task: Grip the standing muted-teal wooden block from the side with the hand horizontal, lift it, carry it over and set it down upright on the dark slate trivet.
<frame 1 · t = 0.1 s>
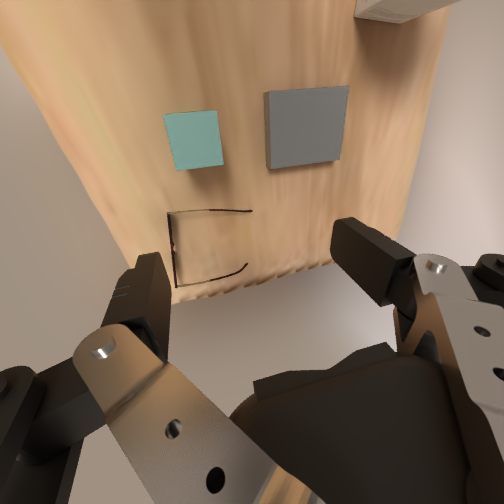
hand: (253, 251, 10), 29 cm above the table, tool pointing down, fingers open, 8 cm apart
slate trivet: (301, 128, 36), on the table
sunglasses: (212, 239, 43), on the table
teal block: (191, 132, 33), on the table
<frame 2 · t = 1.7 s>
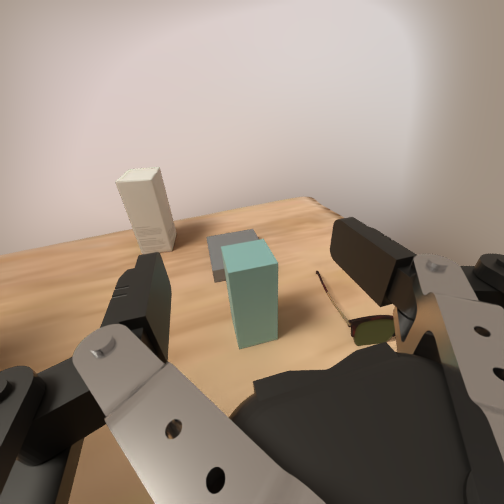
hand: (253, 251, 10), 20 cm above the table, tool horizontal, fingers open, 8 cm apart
slate trivet: (236, 257, 45), on the table
sunglasses: (368, 300, 34), on the table
skincare box: (162, 244, 51), on the table
teal block: (253, 328, 31), on the table
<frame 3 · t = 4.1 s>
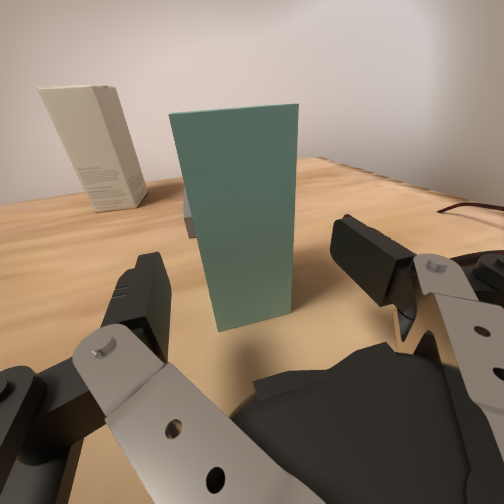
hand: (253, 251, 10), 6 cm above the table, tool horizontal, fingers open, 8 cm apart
slate trivet: (224, 211, 31), on the table
sunglasses: (434, 254, 21), on the table
skincare box: (125, 203, 38), on the table
teal block: (246, 296, 17), on the table
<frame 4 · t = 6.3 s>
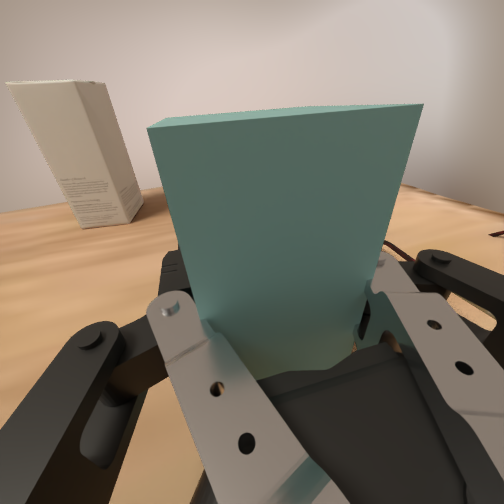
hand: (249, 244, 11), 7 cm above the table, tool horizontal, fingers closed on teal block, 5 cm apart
sunglasses: (502, 296, 16), on the table
skincare box: (118, 216, 33), on the table
teal block: (269, 369, 12), on the table, touching gripper
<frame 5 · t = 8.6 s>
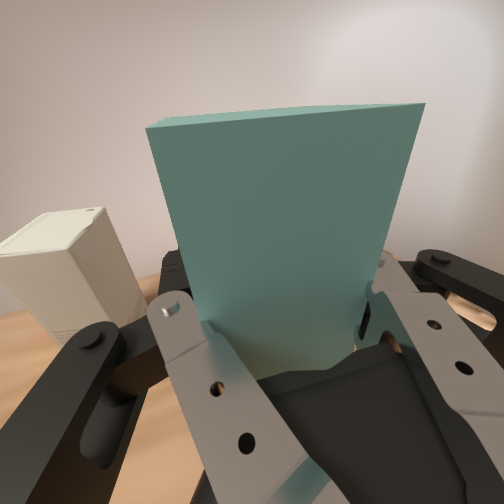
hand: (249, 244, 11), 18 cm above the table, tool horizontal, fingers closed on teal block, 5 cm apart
skincare box: (120, 336, 29), on the table
teal block: (270, 370, 12), point 11 cm above the table, touching gripper
when the fingers open (10 cm above the table, at t = 11.2 s): teal block drops 1 cm, resting on slate trivet.
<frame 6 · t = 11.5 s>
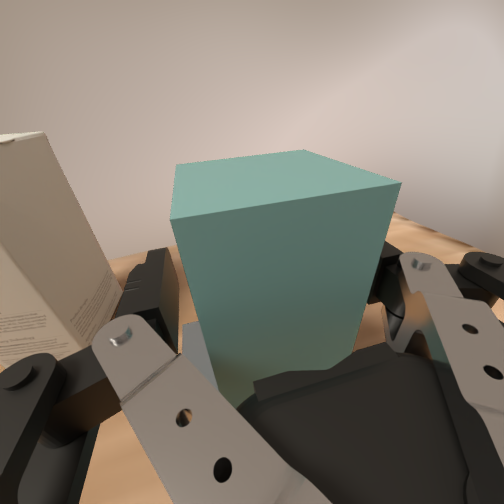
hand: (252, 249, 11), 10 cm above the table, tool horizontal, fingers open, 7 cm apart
slate trivet: (270, 404, 15), on the table
skincare box: (79, 328, 21), on the table
teal block: (270, 384, 13), point 2 cm above the table, touching slate trivet
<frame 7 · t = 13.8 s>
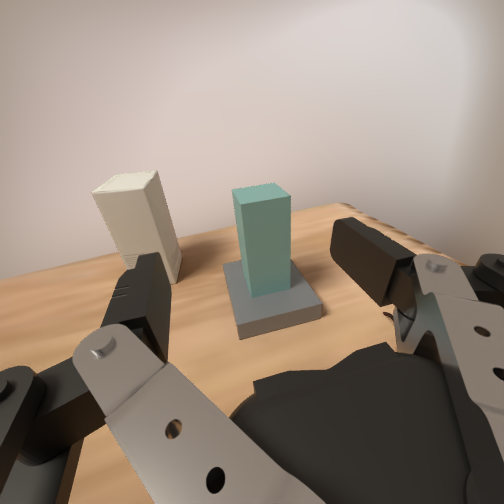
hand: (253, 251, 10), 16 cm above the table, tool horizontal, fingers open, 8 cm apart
slate trivet: (266, 294, 32), on the table
skincare box: (162, 273, 39), on the table
teal block: (265, 281, 30), point 2 cm above the table, touching slate trivet
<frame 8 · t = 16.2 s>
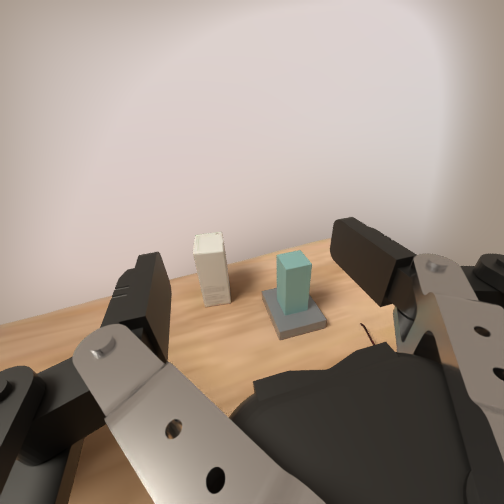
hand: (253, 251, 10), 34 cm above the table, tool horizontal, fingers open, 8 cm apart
slate trivet: (291, 312, 51), on the table
skincare box: (218, 294, 57), on the table
teal block: (291, 304, 50), point 2 cm above the table, touching slate trivet
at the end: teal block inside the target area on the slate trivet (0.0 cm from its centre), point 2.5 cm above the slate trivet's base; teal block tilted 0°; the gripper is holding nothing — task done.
